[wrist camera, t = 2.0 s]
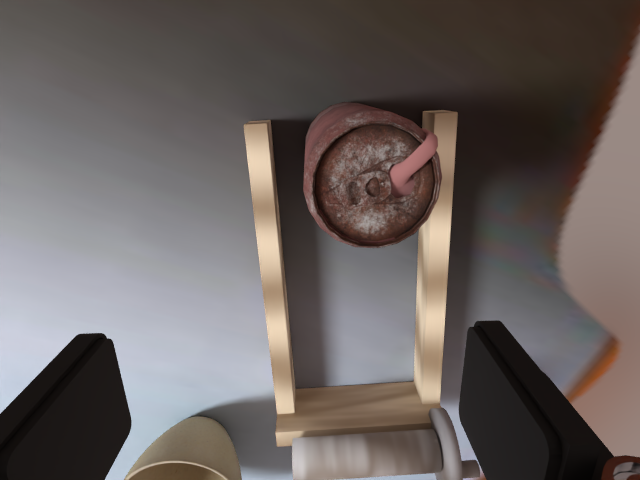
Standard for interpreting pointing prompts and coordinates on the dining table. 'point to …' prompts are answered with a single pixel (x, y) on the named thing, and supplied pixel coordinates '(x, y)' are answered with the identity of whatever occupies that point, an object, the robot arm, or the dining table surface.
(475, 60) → the dining table surface
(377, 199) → the can
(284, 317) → the bay
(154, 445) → the flower pot
